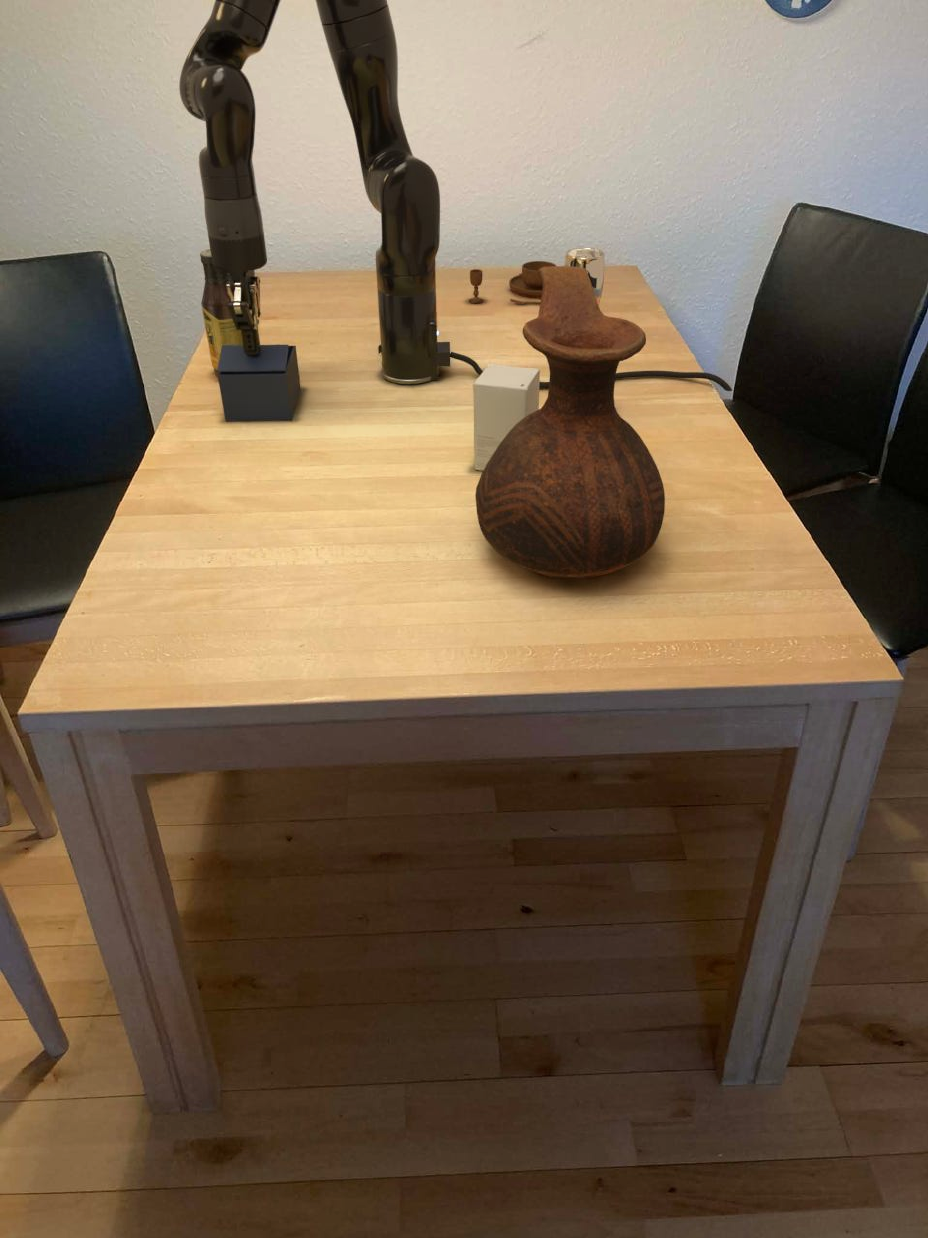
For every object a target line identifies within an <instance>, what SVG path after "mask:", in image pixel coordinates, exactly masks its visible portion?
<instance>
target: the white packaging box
mask: <svg viewBox="0 0 928 1238" xmlns="http://www.w3.org/2000/svg"><path fill="white" fill-rule="evenodd" d="M482 371H483V372H482V374H481V375H480V376H479V375H478V377H476V379H475V380H474V382H473V383H472V392H473V394H472V395H473V396H472V397H473V453H474V456H473V457H474V458H473V459H474V461H473V462H474V470H475V471H481V472H483V471H484V469H485V467H486V465H487V463H488V461H489V460H490V458H491V457H492V455H493V453H494V452H495V450H496V449H497V447H498V446H499V444H500V443H501V442H502V440H503V439H504V438H505V437H506V435H507V434H508V433H509V431H510V430H511V429H512V428H513V427H514V426H515V425H516V424H517V423H518V422H519V421H521V420H522V419H523V418H525V416H528V415H529V414H530V413H533V412H535V411H537V410H539V409H540V388H539V382H540V379H541V378H540V376H541V375H540V374H541V370H540V368H532V367H522V366H513V365H504V364H498V363H497V364H495V363H489V364H488V365H487V366H486V367H485V368H484V370H482Z"/></svg>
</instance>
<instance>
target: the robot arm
mask: <svg viewBox="0 0 928 1238" xmlns="http://www.w3.org/2000/svg"><path fill="white" fill-rule="evenodd" d="M281 1H282V0H215V1H214V3H213V7H212V10H211V12H210V13H211V14H210V15H209V18H208V19H207V21H206V23H205V24H204V26H203V28H202V29H201V30H200V32H199V34H198V35H197V38H196V39H195V41H194V43H193V45H192V47H191V48H190V50H189V52H188V54H187V56H186V58H185V61H184V63H183V64H182V65H183V66H182V68H181V72H180V75H179V87H178V89H179V90H178V91H179V96H180V100H181V102H182V104H183V107H184V108H185V110H186V111H187V112H188V113H189V115H191V116H192V117H194V118H196V119H197V120H199V121H202V122H205V132H206V133H205V134H206V146H204V147H203V148H202V149H201V150H200V151H199V154H198V167H199V168H198V169H199V175H200V181H201V187H202V193H203V194H202V195H203V202H204V203H203V204H204V206H203V209H204V219H205V226H206V231H207V238H208V243H209V249H210V251H211V257H212V263H213V266H214V267H215V268H216V269H218V270H221V271H226V272H228V273H229V275H230V277H229V280H230V282H227V291H228V295H229V296H230V299H231V301H228V304H227V306H228V309H229V312H230V314H231V317H232V319H233V322H234V324H235V327H236V329H237V330H241V333H242V340H243V347H244V353H245V354H246V355H258V354H259V352H260V350H261V347H260V345H261V339H260V333H259V326H260V319H259V318H261V314H262V313H261V279H260V276H258V275H256V274H255V273H256V272H255V271H257V270H259V269H261V268H263V267H265V266H266V265H267V263H268V257H267V256H268V255H267V247H266V240H265V239H266V238H265V231H264V223H263V215H262V210H261V204H260V201H259V196H258V191H257V189H258V188H257V182H256V175H255V168H254V162H253V154H254V148H255V136H256V135H255V133H256V117H257V116H256V115H257V114H256V113H257V112H256V111H257V110H256V109H257V108H256V100H255V96H254V91H253V88H252V84H251V83H250V81H249V79H248V77H247V75H246V74H245V73H244V72H243V68H244V67H245V64H246V63H247V60H248V59H249V58H250V57H252V56H254V55H256V54H258V53H260V52H261V51H262V49H263V48H264V47H265V44H266V43H267V40H268V37H269V34H270V32H271V29H272V26H273V23H274V21H275V19H276V15H277V13H278V10H279V6H280V4H281ZM315 4H316V8H317V12H318V16H319V21H320V23H321V27H322V31H323V34H324V39H325V42H326V45H327V48H328V52H329V55H330V58H331V61H332V64H333V68H334V71H335V74H336V77H337V81H338V84H339V87H340V90H341V93H342V97H343V100H344V102H345V107H346V109H347V111H348V115H349V117H350V120H351V123H352V128H353V132H354V138H355V142H356V147H357V152H358V158H359V163H360V164H359V165H360V169H361V174H362V180H363V181H362V182H363V185H364V189H365V194H366V196H367V199H368V200H369V203H370V204H371V205H372V207H373V208H374V209H375V210H376V211H377V212H378V213H380V219H381V222H380V223H381V243H380V245H379V247H377V248H376V250H375V273H376V289H377V290H376V291H377V305H378V323H379V338H380V344H379V345H378V347H377V350H378V351H377V352H378V355H380V356H381V376H382V377H383V379H385V380H386V381H388V382H391V383H394V384H400V385H418V384H424V383H427V382H430V381H438V380H439V368H443V367H444V368H445V367H446V368H447V367H449V368H450V367H451V359H454V360H457V361H461V362H463V363H466V364H468V365H470V366H471V367H472V368H473V370H474V372H475V373H476V374H477V375H478V377H479V376H480V375H481V374H482V372H483V371H484V370H483V369H482V368H481V367H480V365H479V364H478V362H476V360H474V359H473V358H471V357H469V356H467V355H464V354H461V353H457V352H454V351H451V341H438V336H439V330H438V312H437V281H436V279H437V278H436V277H437V276H436V275H437V274H436V258H437V254H438V252H439V248H440V243H441V242H440V241H441V240H440V239H441V194H440V193H441V192H440V185H439V180H438V177H437V175H436V173H435V171H434V170H433V168H432V167H431V166H430V165H429V164H427V162H425V161H424V160H422V159H420V158H418V157H416V156H415V155H414V154H413V152H412V149H411V147H410V144H409V140H408V138H407V134H406V131H405V128H404V123H403V121H402V115H401V112H400V106H399V54H398V44H397V38H396V32H395V28H394V24H393V19H392V16H391V11H390V8H389V7H390V6H389V4H388V0H315ZM649 377H650V378H652V377H653V378H654V377H657V378H672V379H673V378H674V379H701V380H702V379H704V380H709V381H712V382H714V383H716V384H717V385H719V386H720V387H721V388H722V389H723V390H724V391H726V392H732V391H733V388H732V387H731V386H730V385H729V383H728V382H727V381H725V379H723V378H721V377H720V376H718V375H716V374H713V373H710V372H703V371H689V372H688V371H671V370H633V371H621V372H616V375H615V380H621V379H630V378H649ZM539 389H549V381H539Z"/></svg>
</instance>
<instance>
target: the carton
mask: <svg viewBox="0 0 928 1238" xmlns="http://www.w3.org/2000/svg"><path fill="white" fill-rule="evenodd" d="M217 381H218V385H219V391H220V397H221V403H222V410H223V414H224V420H225V422H270V421H271V422H281V421H283V422H284V421H287V422H288V421H293V418H294V414H295V410H296V408H297V405H298V400H299V397H300V394H301V390H302V388H301V380H300V372H299V361H298V354H297V346H296V345H289V347H288V355H287V363H286V371H255V372H219V374H218V376H217Z"/></svg>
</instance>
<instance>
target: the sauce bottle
mask: <svg viewBox="0 0 928 1238" xmlns="http://www.w3.org/2000/svg"><path fill="white" fill-rule="evenodd" d="M199 256H200V262H201V264H202V268H203V274H204V285H203V291H202V292H203V293H202V298H201V303H200V304H201V311H202V316H203V321H204V328H205V333H206V334H205V335H206V339H207V345H208V349H209V356H210V361H211V367H212V368H213V372H214V374H215V376H217V377H218V374H219V372H217V369H218V364H219V359H220V354H221V348H222V345H243V340H242V333H241V330H237V329H236V327H235V324H234V322H233V319H232V317H231V314H230V312H229V309H228V306H227V304H228V301H231V299H230V296H229V295H228V291H227V282H230V280H229V277H230V275H229V273H228V272H226V271H221V270H218V269H216V268H215V267H214V266H213V263H212V257H211V251H210V248H207V249H204V250H202V251H200V253H199Z"/></svg>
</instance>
